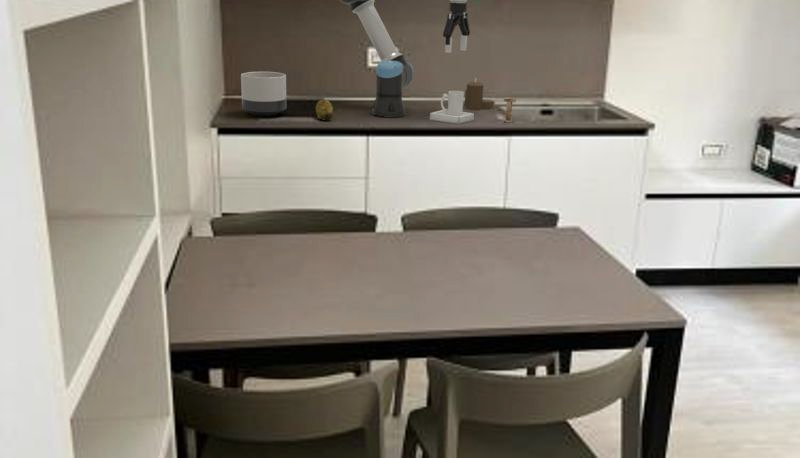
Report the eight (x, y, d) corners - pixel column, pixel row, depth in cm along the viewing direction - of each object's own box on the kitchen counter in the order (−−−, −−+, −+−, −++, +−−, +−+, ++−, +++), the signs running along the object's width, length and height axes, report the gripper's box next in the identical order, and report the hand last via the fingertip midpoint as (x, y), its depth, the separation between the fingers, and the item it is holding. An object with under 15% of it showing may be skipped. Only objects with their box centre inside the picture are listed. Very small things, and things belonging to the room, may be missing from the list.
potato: (312, 121, 337) (312, 102, 335) (316, 116, 350) (316, 98, 347) (332, 122, 337) (332, 103, 335) (335, 116, 350) (335, 98, 347)
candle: (483, 111, 374) (485, 79, 369) (457, 108, 380) (459, 77, 375) (494, 107, 385) (497, 77, 380) (469, 104, 391) (471, 74, 387)
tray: (429, 119, 350) (430, 113, 349) (444, 115, 360) (444, 109, 359) (459, 124, 342) (459, 117, 341) (473, 120, 352) (473, 113, 351)
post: (501, 121, 351) (502, 98, 348) (505, 120, 354) (506, 97, 351) (511, 123, 348) (513, 99, 345) (515, 121, 352) (517, 98, 348)
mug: (463, 118, 352) (464, 91, 349) (461, 121, 346) (462, 93, 342) (441, 116, 354) (442, 89, 350) (438, 119, 348) (440, 92, 344)
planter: (273, 120, 336) (273, 78, 331) (234, 116, 342) (232, 75, 337) (294, 113, 354) (293, 73, 348) (255, 109, 360) (254, 70, 354)
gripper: (451, 3, 335) (449, 54, 342) (479, 2, 355) (476, 50, 362) (436, 2, 339) (434, 52, 346) (464, 1, 359) (462, 48, 365)
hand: (455, 51), depth 354 cm, fingers open, 13 cm apart
